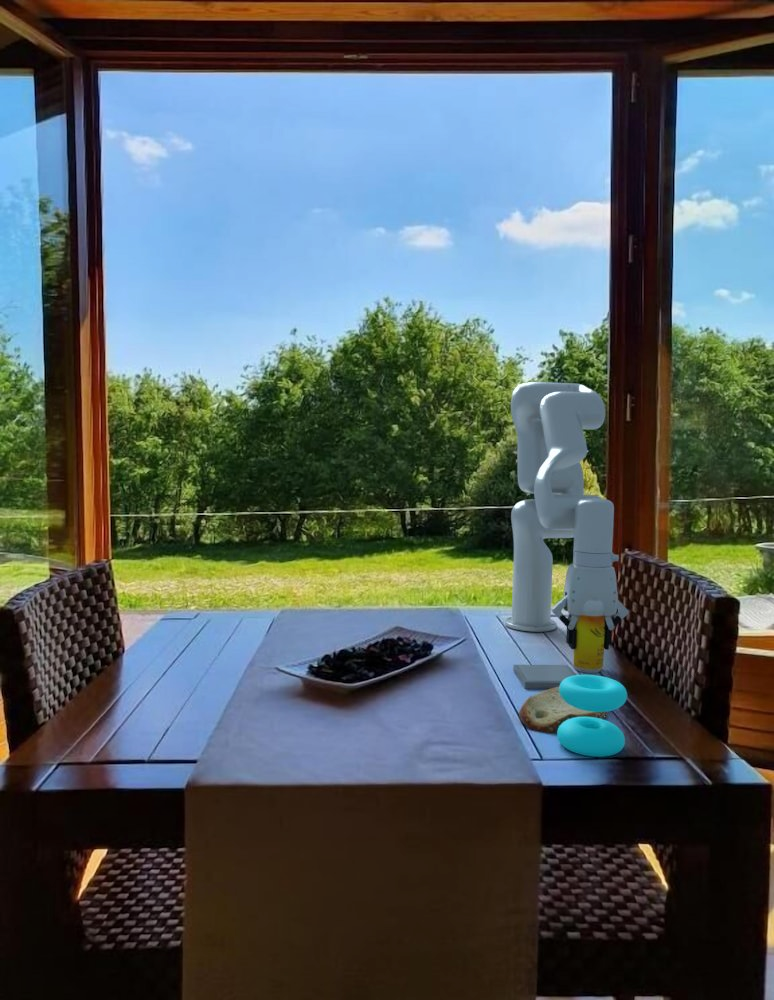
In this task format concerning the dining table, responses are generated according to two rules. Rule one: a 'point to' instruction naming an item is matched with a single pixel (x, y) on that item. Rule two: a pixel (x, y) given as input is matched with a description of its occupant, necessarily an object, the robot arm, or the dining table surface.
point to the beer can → (590, 638)
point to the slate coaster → (542, 675)
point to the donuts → (590, 731)
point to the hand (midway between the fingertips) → (588, 646)
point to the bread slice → (550, 712)
